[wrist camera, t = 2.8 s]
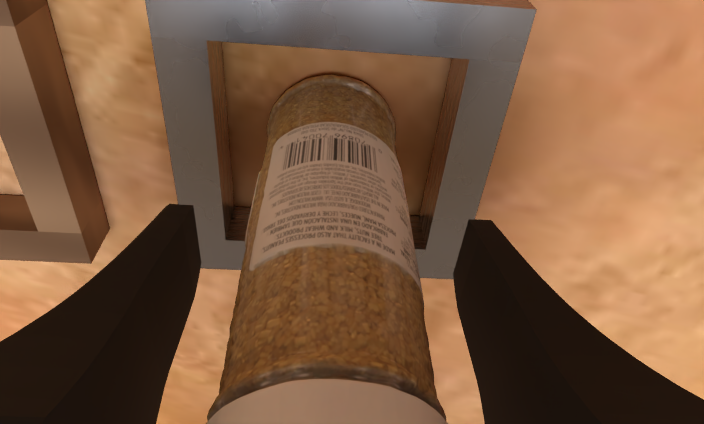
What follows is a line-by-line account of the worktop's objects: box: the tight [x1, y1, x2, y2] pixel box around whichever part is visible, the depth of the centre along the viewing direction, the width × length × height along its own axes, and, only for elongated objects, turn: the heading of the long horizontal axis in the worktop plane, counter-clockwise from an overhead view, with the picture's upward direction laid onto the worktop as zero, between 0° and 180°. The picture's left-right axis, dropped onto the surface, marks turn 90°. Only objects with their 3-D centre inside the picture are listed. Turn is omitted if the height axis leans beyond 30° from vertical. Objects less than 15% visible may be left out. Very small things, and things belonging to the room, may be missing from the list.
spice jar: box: [206, 75, 448, 424], centre depth 13 cm, size 5×5×13 cm
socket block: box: [145, 0, 537, 279], centre depth 18 cm, size 10×10×2 cm
